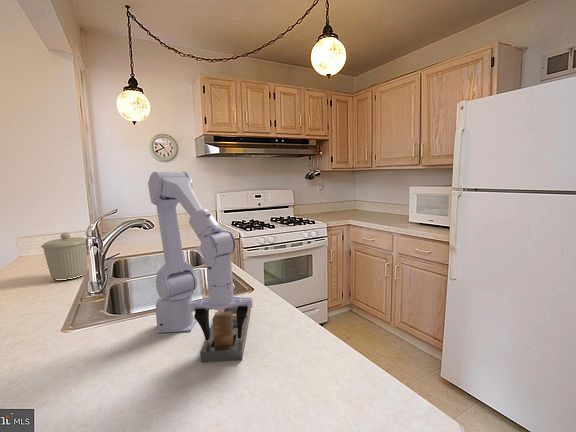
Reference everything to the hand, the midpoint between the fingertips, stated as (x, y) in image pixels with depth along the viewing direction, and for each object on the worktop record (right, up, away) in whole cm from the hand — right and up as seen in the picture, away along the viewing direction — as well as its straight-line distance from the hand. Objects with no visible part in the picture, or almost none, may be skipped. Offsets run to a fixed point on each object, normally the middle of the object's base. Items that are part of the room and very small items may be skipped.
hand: (223, 337), depth 75 cm
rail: (0, -2, +9) cm, 10 cm away
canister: (-85, +1, +68) cm, 109 cm away
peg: (0, -3, 0) cm, 3 cm away
